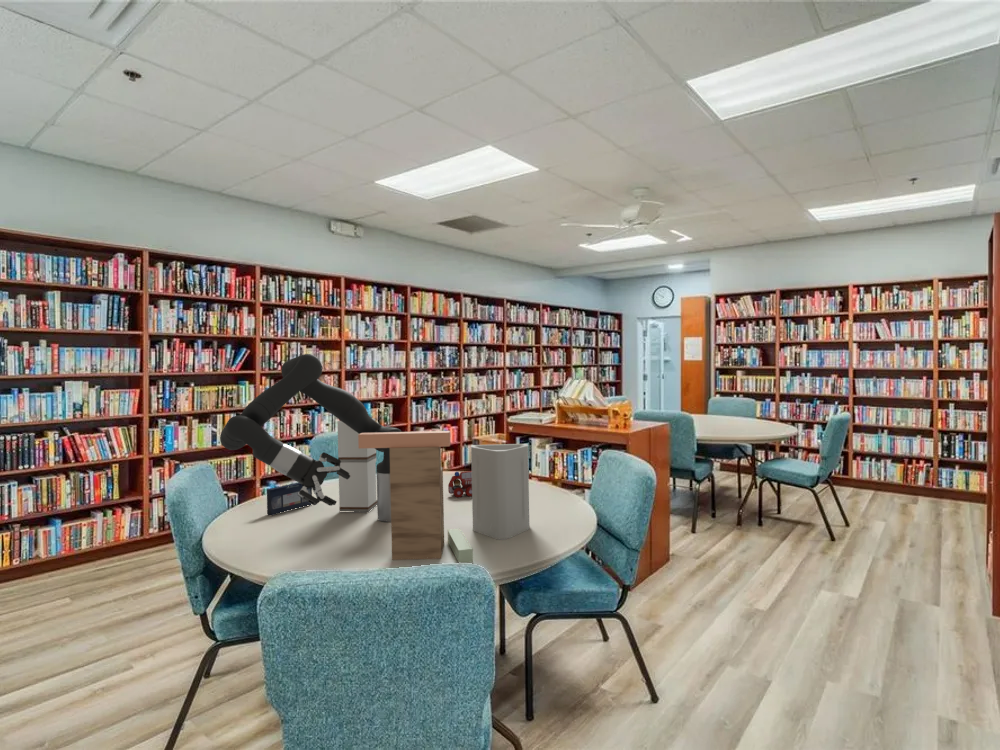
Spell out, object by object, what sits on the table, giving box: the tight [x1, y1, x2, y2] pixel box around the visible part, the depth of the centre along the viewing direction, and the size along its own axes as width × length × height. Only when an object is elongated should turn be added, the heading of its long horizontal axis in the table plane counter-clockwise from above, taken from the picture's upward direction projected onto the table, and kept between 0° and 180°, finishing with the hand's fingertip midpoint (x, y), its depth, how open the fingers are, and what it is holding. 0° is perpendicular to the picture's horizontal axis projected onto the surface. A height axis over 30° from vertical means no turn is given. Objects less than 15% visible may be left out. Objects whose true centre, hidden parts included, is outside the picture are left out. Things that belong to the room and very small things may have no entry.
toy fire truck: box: [447, 470, 472, 498], centre depth 230 cm, size 7×12×10 cm, turn 105°
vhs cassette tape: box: [266, 482, 313, 516], centre depth 212 cm, size 18×3×10 cm, turn 143°
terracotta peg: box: [358, 430, 451, 448], centre depth 157 cm, size 4×26×4 cm, turn 91°
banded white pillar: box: [336, 417, 377, 513], centre depth 211 cm, size 11×11×35 cm
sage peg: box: [447, 528, 474, 563], centre depth 161 cm, size 20×4×4 cm, turn 14°
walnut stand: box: [390, 447, 445, 561], centre depth 160 cm, size 12×14×32 cm
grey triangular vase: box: [470, 443, 530, 540], centre depth 178 cm, size 19×15×28 cm
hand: (342, 490), depth 155 cm, fingers open, 8 cm apart
